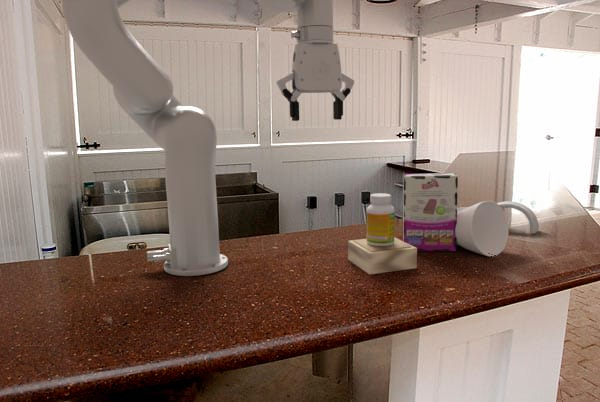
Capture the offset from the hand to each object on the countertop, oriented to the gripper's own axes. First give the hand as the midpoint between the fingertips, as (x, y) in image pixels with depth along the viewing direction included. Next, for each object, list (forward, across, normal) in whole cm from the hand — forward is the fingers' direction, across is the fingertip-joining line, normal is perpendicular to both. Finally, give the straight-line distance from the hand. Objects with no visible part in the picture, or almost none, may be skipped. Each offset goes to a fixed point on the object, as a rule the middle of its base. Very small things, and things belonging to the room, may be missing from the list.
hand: (316, 120), depth 105 cm
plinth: (+28, +7, -17) cm, 34 cm away
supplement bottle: (+24, +7, -17) cm, 30 cm away
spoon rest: (+29, +46, +1) cm, 54 cm away
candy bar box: (+28, +22, -11) cm, 37 cm away
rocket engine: (+29, +30, -12) cm, 43 cm away
